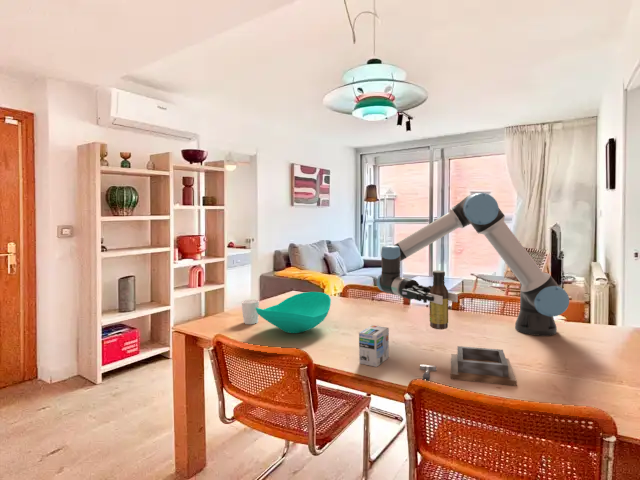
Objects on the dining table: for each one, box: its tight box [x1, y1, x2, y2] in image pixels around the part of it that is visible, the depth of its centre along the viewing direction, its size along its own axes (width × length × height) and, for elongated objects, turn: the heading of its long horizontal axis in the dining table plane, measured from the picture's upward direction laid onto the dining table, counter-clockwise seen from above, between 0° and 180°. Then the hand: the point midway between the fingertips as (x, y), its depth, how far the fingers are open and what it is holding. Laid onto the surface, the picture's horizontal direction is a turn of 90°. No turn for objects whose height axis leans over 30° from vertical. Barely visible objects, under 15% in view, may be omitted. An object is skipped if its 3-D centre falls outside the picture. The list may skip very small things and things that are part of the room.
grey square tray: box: [450, 345, 518, 387], centre depth 128 cm, size 18×18×5 cm
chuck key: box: [419, 364, 437, 381], centre depth 126 cm, size 9×5×2 cm, turn 162°
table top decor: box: [256, 291, 332, 334], centre depth 174 cm, size 40×28×13 cm
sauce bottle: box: [429, 270, 449, 331], centre depth 141 cm, size 6×6×20 cm
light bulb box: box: [358, 324, 390, 368], centre depth 138 cm, size 11×7×11 cm, turn 148°
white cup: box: [241, 299, 260, 325], centre depth 189 cm, size 8×8×10 cm
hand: (449, 299), depth 136 cm, fingers closed on sauce bottle, 6 cm apart
